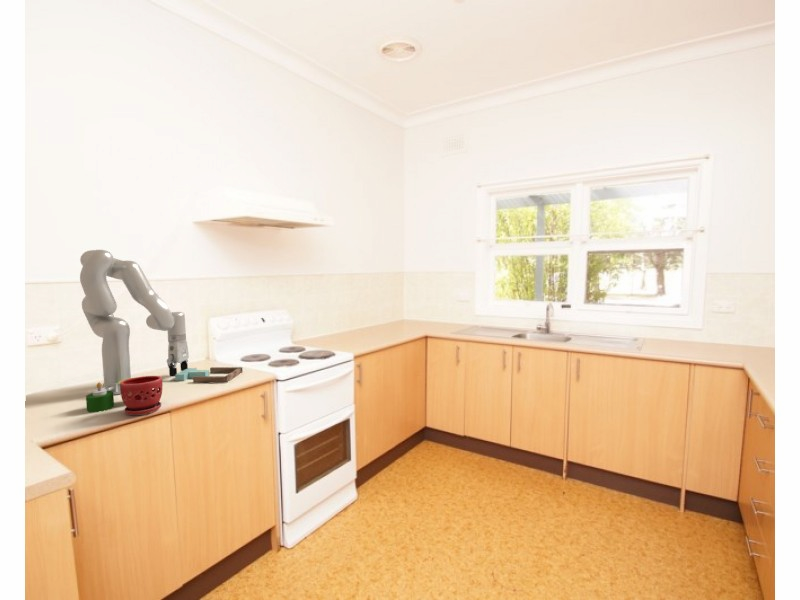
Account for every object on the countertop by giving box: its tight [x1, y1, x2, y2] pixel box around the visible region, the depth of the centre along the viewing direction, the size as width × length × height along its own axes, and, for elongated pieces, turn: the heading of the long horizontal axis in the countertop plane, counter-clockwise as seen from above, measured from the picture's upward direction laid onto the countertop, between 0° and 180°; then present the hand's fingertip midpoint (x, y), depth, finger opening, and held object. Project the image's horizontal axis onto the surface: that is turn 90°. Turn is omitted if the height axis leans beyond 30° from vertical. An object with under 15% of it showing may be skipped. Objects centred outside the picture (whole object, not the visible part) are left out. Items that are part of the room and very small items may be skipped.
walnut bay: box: [192, 366, 243, 383], centre depth 195 cm, size 18×16×2 cm
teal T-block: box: [174, 367, 210, 382], centre depth 195 cm, size 12×12×3 cm
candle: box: [85, 381, 115, 413], centre depth 153 cm, size 8×8×10 cm
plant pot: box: [120, 375, 163, 416], centre depth 150 cm, size 13×13×12 cm
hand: (178, 373), depth 195 cm, fingers open, 9 cm apart
